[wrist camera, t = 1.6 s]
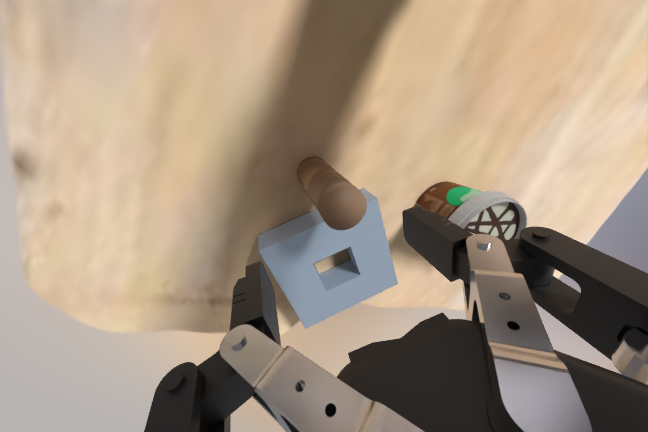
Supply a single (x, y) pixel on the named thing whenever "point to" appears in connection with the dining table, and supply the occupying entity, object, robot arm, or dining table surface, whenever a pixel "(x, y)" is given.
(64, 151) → the dining table surface
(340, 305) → the socket block
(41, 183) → the dining table surface
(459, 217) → the food container
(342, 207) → the walnut peg
